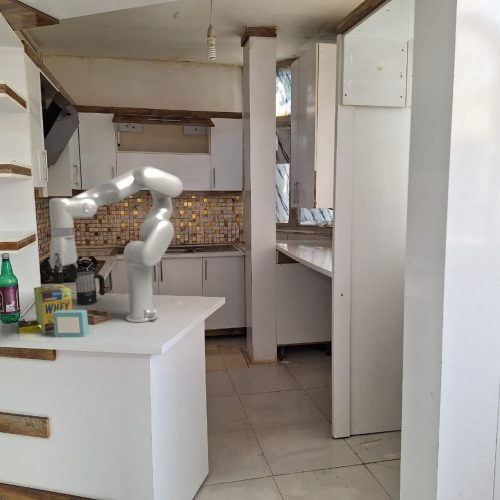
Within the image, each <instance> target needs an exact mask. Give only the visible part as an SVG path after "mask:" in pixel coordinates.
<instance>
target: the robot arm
mask: <svg viewBox="0 0 500 500" xmlns="http://www.w3.org/2000/svg"><path fill="white" fill-rule="evenodd" d="M145 189H149V191H150V192H149V193H150V194H151V197H152V206H151V209H150V211H149V212H148V214H147V215H146V217H145V219H144V220H143V222H142V224H141V225H140V229H139V236H140V237H141V239H142V240H143V241H142V240H134V241H130V242H129V243H128V244H126V246H125V247H124V250H123V260H124V265H125V268H126V274H127V275H126V276H127V289H128V292H127V293H128V304H129V314H128V315H127V316H126V318H125V319H126V321H127V322H131V323H145V322H149V321H150V322H151V321H153V320H156V319H158V317H159V315H161V312H160V310H157V309H156V306H154V305H155V304H154V292H153V276H152V270H151V267H153V266H156V265H157V264H158V263H159V262H160V261H161V260H162V258H163V256H164V255H165V253H166V252H167V250H168V248H169V246H170V244H171V242H172V241H173V238H174V235H175V229H174V225H173V223H172V222H171V221H170V218H171V217H172V215H173V210H174V209H173V202H172V198H176V197H178V196H180V195H182V193H183V190H184V185H183V182H182V180H181V178H179V177H178V176H176V175H174V174H171V173H168V172H166V171H163V170H161V169H158V168H156V167H154V166H151V165H150V166H149V165H147V166H145V165H144V166H141V167H135V168H133V169H130V170H128V171H126V172H124V173H122V174H120V175H118V176H116V177H114V178H112V179H110V180H108V181H105V182H103V183H100V184H99V185H97V186H94V187H92V188H89V189H87V190H84V191H83V192H81V193H78V194H77V195H75V196H73V197H70V198H68V197H54V198H50V199H49V202H48V206H49V207H48V208H49V219H50V220H49V221H50V235H51V239H50V248H49V249H50V251H49V253H50V254H49V255H50V256H49V258H50V260H49V265H50V269H51V271H52V272H51V273H53V285H63V284H64V274H63V273H64V272H63V268H64V267H65V266H66V267H67V266H68V268H67V270H68V279H69V280H75V279H77V278H78V274H77V273H78V265H79V254H78V253H77V246H76V241H75V226H74V225H75V223H74V219H88V218H92V217H93V216H95V215H96V213H97V211H98V208H99V207H103V206H105V205H111V204H114V203H118V202H121V201H123V200H124V199H127V198H128V197H130V196H132V195H133V194H136V193H138V192H139V191H141V190H145Z"/></svg>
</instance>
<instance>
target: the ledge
mask: <svg viewBox="0 0 500 500" xmlns="http://www.w3.org/2000/svg"><path fill="white" fill-rule="evenodd" d="M84 310H87V319H88V325H93V326H94V325H98V324H101V323H104V322H108V321H110V320H111V311H109V310H103V309H96V308H89V307H86V308H84Z"/></svg>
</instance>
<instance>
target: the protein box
mask: <svg viewBox="0 0 500 500" xmlns="http://www.w3.org/2000/svg"><path fill="white" fill-rule="evenodd" d="M33 294H34V305H35V315H36V316H35V318H36V322H37V321H38V322H39V323H40V325H41V329H40V331H41V332H42V333H43V334H44V335H47V334H48V335H49V334H55V332H54V321H53V312H55V311H58V310H74V309H73V300H72V299H73V297H72V289H71V288H69V287H67V286H65V285H63V284H53V285H46V286H37V287H33Z"/></svg>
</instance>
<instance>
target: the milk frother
mask: <svg viewBox="0 0 500 500" xmlns="http://www.w3.org/2000/svg"><path fill="white" fill-rule="evenodd" d="M77 274H78V278H77V279H74V280H75V281H74V282H75V289H76V291H75V292H76V305H78V306H87V305H89V306H90V305H94V304H96V303H98V300H97V298H98V297H97V296H98V295H97V287H96V286H97V285H96V279H98V284H99V286H98V287H99V295H100V296H104V295H105V294H106V293H105V291H106V289H105V285H106V282H105V278H104V275H102V274H99V273H95V271H80V272H77Z"/></svg>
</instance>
